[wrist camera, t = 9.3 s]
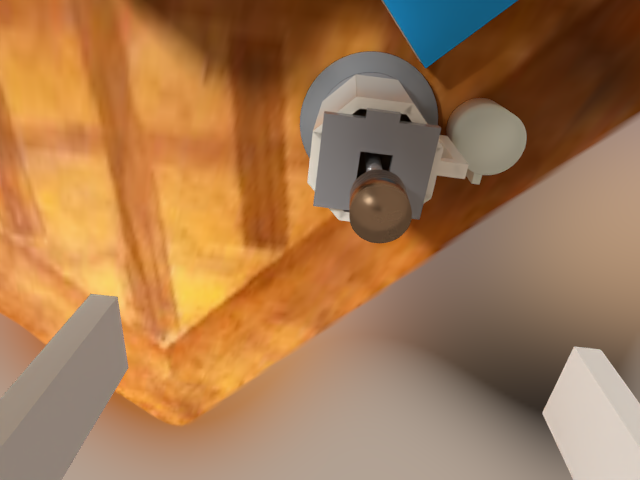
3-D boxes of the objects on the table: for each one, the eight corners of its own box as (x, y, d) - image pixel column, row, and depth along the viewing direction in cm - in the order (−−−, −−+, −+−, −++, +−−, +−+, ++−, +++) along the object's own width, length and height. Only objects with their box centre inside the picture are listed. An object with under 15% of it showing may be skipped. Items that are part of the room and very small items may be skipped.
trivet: (307, 42, 43) (306, 43, 43) (451, 60, 43) (453, 61, 42) (295, 179, 50) (294, 181, 49) (420, 195, 50) (421, 198, 49)
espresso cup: (454, 94, 45) (468, 105, 39) (514, 101, 45) (535, 114, 39) (436, 165, 48) (447, 184, 43) (492, 172, 48) (509, 192, 43)
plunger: (353, 120, 39) (354, 182, 25) (394, 125, 39) (417, 190, 25) (347, 159, 41) (345, 238, 27) (386, 164, 41) (405, 246, 27)
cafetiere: (323, 65, 43) (312, 88, 31) (453, 82, 43) (494, 111, 31) (312, 168, 48) (298, 222, 36) (429, 183, 48) (456, 242, 36)
